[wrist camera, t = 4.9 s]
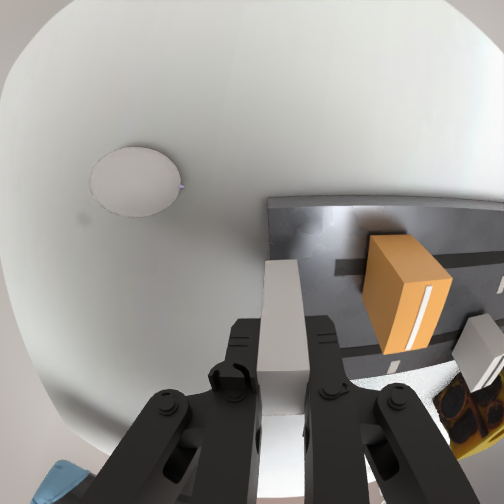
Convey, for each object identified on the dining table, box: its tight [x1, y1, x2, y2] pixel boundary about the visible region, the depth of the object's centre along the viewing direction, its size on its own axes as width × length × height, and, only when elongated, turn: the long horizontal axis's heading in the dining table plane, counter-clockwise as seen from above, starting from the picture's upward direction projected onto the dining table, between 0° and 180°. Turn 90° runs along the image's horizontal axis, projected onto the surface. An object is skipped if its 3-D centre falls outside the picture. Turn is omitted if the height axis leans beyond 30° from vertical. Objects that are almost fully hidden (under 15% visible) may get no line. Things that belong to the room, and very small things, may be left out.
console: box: [268, 195, 504, 380], centre depth 16 cm, size 27×14×2 cm, turn 95°
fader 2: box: [452, 313, 504, 392], centre depth 14 cm, size 2×4×5 cm, turn 5°
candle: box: [433, 366, 504, 461], centre depth 18 cm, size 10×10×10 cm
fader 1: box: [362, 235, 453, 355], centre depth 12 cm, size 2×4×5 cm, turn 5°
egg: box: [90, 147, 184, 218], centre depth 13 cm, size 4×6×4 cm, turn 82°
